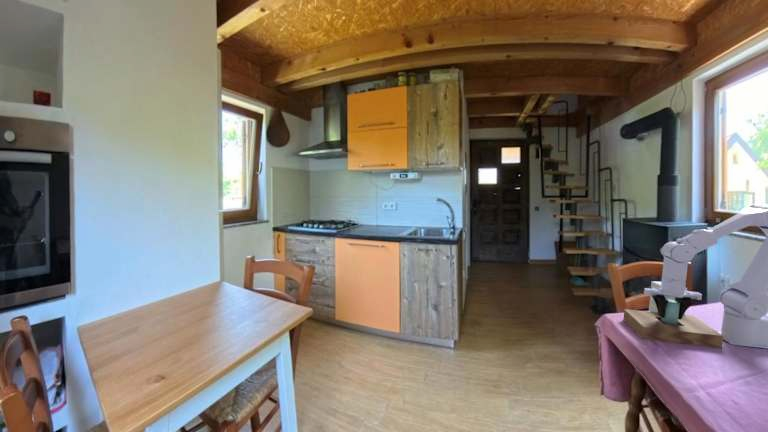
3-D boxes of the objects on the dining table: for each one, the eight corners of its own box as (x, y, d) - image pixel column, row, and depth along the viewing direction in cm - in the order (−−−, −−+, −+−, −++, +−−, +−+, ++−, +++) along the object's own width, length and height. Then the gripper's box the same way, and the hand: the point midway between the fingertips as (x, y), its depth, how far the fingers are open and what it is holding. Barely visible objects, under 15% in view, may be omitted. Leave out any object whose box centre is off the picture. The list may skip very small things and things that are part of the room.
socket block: (691, 326, 105) (692, 315, 104) (721, 348, 92) (723, 335, 91) (623, 319, 111) (624, 309, 110) (642, 338, 98) (644, 327, 97)
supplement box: (684, 321, 108) (688, 288, 107) (661, 320, 110) (664, 287, 108) (669, 313, 116) (673, 281, 114) (647, 311, 117) (650, 280, 115)
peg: (672, 322, 102) (675, 299, 101) (680, 327, 98) (683, 304, 97) (658, 320, 103) (660, 298, 102) (665, 326, 99) (668, 303, 98)
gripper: (653, 280, 97) (649, 319, 99) (710, 284, 93) (705, 325, 95) (642, 273, 104) (638, 310, 106) (695, 277, 100) (690, 315, 101)
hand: (669, 317), depth 101 cm, fingers closed on peg, 4 cm apart
